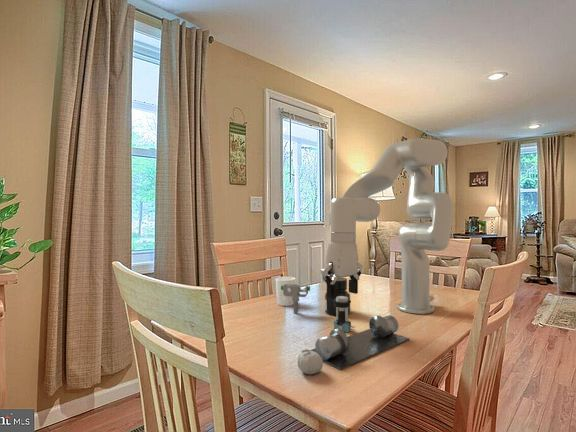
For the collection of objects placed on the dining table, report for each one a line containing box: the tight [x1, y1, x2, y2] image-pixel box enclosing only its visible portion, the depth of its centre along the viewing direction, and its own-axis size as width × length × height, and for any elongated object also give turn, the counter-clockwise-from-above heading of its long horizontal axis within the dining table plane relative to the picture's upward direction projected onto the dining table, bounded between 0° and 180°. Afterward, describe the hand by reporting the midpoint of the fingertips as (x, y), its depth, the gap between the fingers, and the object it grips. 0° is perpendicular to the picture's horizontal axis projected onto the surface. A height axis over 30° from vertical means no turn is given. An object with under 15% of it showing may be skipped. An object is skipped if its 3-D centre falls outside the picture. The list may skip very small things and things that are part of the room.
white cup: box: [275, 276, 297, 307], centre depth 135 cm, size 8×8×10 cm
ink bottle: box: [324, 277, 351, 316], centre depth 123 cm, size 10×9×12 cm
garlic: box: [297, 348, 324, 375], centre depth 78 cm, size 6×5×5 cm
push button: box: [333, 296, 356, 333], centre depth 104 cm, size 7×5×10 cm
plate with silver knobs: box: [308, 315, 410, 371], centre depth 92 cm, size 28×12×6 cm, turn 129°
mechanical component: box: [281, 283, 311, 315], centre depth 122 cm, size 3×10×10 cm, turn 79°
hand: (342, 295), depth 104 cm, fingers open, 9 cm apart
